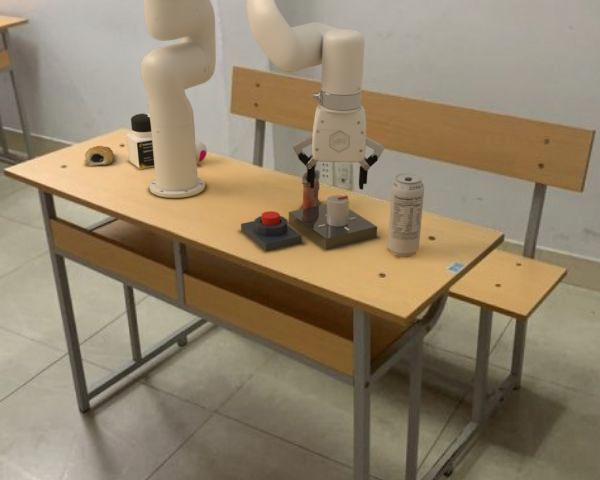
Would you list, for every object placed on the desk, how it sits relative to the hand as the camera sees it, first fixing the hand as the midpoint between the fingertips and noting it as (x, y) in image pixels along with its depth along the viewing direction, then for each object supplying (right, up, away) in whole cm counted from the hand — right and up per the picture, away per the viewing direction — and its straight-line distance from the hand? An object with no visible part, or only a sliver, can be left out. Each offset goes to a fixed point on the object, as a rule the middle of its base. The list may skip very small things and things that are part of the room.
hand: (336, 186), depth 153 cm
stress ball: (-34, +12, +41) cm, 54 cm away
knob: (0, -7, +3) cm, 8 cm away
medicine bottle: (-45, +12, +41) cm, 62 cm away
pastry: (-57, +12, +42) cm, 72 cm away
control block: (-13, -10, +3) cm, 17 cm away
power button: (-13, -7, +2) cm, 15 cm away
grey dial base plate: (-1, -8, +6) cm, 10 cm away
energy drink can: (+13, -13, -2) cm, 18 cm away
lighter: (-5, -3, +16) cm, 17 cm away
